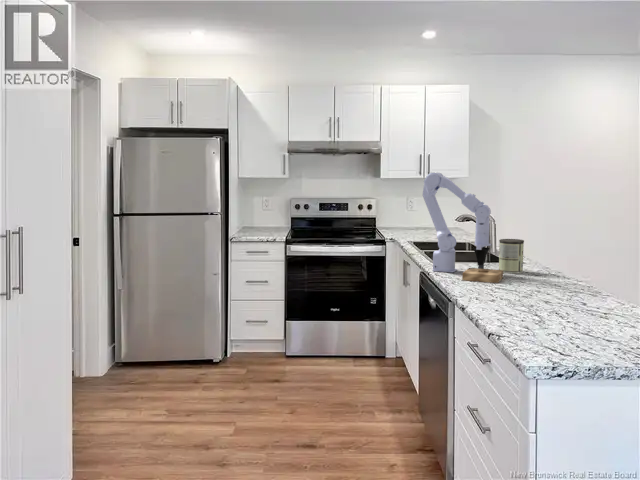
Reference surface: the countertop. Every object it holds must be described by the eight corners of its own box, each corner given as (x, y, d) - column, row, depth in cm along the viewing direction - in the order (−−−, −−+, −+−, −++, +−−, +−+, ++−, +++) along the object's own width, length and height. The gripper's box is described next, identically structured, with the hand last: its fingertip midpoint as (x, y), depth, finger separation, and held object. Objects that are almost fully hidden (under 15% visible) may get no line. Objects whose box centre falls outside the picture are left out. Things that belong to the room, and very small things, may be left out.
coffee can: (496, 269, 252) (497, 238, 250) (519, 270, 251) (520, 238, 249) (501, 273, 242) (502, 241, 240) (525, 273, 241) (526, 241, 239)
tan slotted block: (462, 280, 226) (462, 272, 225) (468, 274, 238) (469, 267, 238) (498, 282, 220) (498, 275, 219) (503, 277, 232) (503, 270, 232)
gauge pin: (477, 271, 241) (478, 250, 240) (478, 270, 243) (479, 250, 242) (483, 271, 240) (484, 251, 239) (484, 271, 242) (485, 250, 241)
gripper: (489, 235, 232) (487, 267, 233) (494, 232, 245) (493, 262, 246) (471, 234, 235) (470, 266, 236) (478, 231, 248) (476, 261, 249)
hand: (481, 264), depth 242 cm, fingers closed on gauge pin, 2 cm apart
